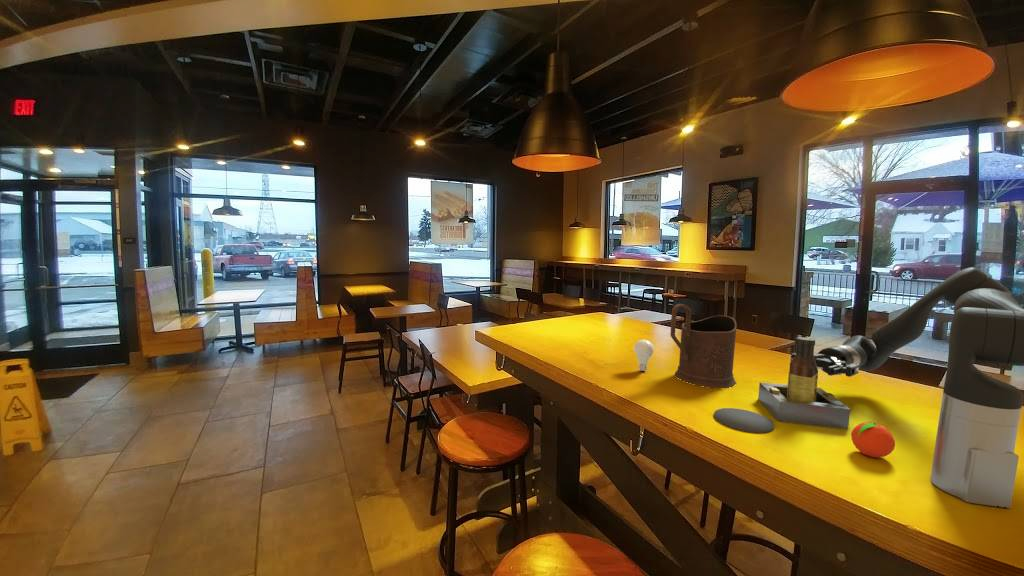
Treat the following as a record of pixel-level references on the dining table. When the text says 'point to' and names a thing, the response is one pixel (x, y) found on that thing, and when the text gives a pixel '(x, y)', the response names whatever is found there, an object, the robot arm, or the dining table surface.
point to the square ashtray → (804, 407)
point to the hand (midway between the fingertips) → (810, 366)
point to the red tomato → (873, 439)
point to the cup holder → (706, 350)
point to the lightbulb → (643, 353)
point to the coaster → (744, 420)
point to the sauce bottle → (803, 372)
